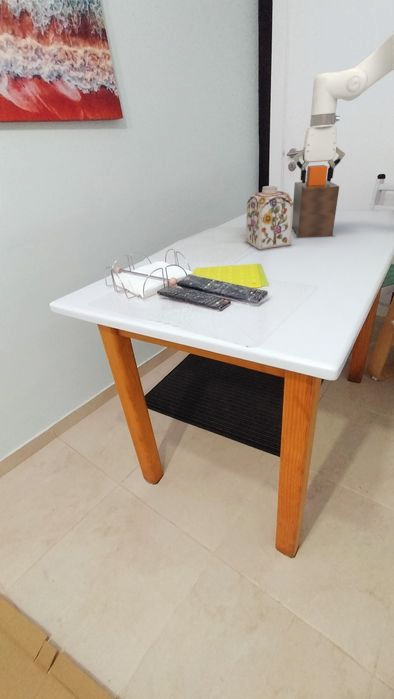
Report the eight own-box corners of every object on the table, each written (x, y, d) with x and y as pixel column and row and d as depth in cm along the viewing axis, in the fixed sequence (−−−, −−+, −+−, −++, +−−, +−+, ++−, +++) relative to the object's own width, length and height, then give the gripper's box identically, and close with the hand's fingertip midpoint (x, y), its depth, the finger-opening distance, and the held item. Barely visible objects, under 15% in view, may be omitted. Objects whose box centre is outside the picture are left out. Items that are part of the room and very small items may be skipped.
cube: (322, 182, 120) (324, 165, 117) (325, 184, 116) (327, 166, 113) (305, 183, 121) (307, 166, 118) (308, 185, 116) (310, 167, 113)
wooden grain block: (322, 225, 133) (327, 180, 125) (332, 235, 119) (339, 186, 111) (291, 226, 135) (294, 182, 126) (297, 237, 121) (301, 188, 112)
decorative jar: (245, 241, 120) (246, 186, 111) (275, 237, 122) (278, 183, 113) (259, 250, 111) (260, 190, 101) (291, 245, 113) (296, 186, 103)
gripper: (347, 119, 111) (339, 179, 120) (293, 124, 113) (289, 182, 122) (353, 118, 104) (344, 181, 114) (296, 124, 107) (292, 184, 116)
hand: (316, 181), depth 118 cm, fingers open, 8 cm apart
